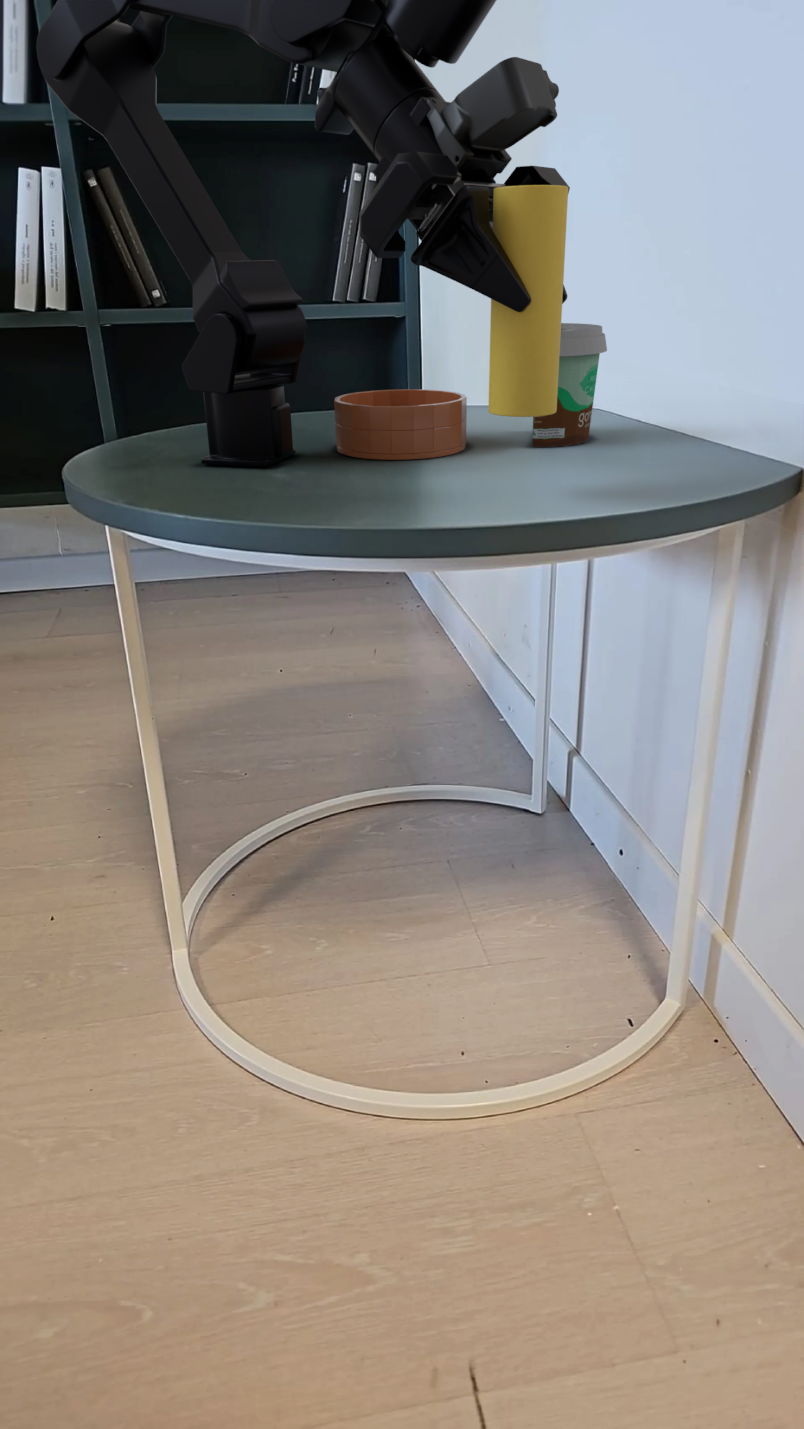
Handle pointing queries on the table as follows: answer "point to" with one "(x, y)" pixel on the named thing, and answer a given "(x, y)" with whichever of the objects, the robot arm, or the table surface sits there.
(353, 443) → the bowl
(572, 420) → the paper coffee cup
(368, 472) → the table surface
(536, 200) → the tall yellow cylinder
